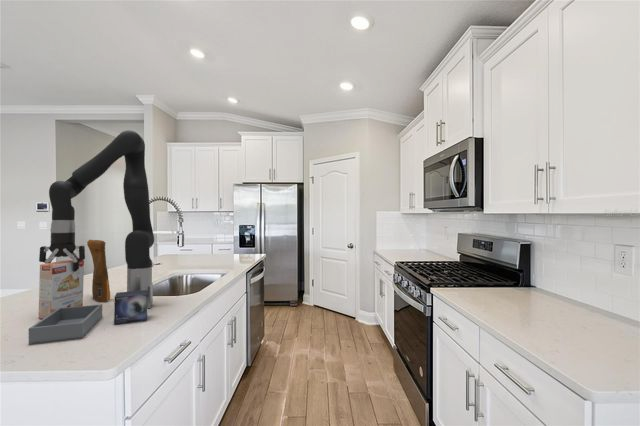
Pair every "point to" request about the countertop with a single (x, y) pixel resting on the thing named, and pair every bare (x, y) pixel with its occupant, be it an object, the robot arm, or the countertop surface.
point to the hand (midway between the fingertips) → (62, 271)
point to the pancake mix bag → (99, 271)
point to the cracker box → (60, 286)
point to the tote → (65, 324)
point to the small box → (130, 307)
